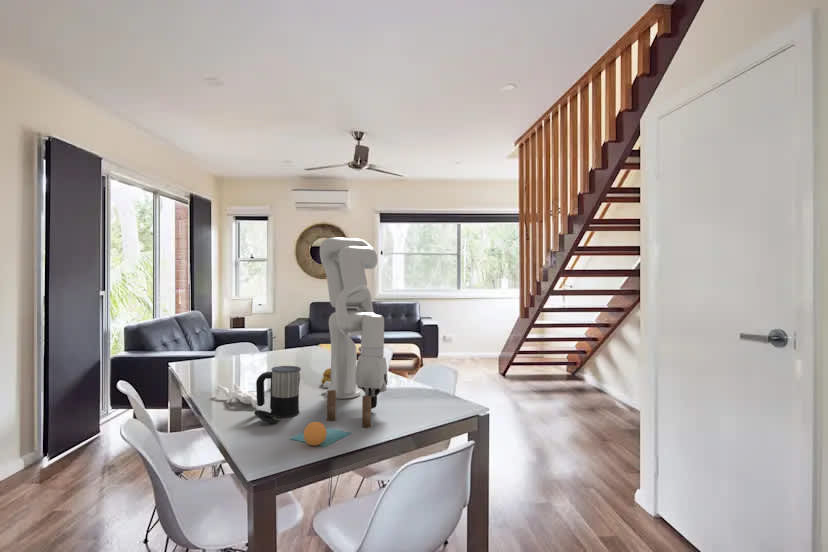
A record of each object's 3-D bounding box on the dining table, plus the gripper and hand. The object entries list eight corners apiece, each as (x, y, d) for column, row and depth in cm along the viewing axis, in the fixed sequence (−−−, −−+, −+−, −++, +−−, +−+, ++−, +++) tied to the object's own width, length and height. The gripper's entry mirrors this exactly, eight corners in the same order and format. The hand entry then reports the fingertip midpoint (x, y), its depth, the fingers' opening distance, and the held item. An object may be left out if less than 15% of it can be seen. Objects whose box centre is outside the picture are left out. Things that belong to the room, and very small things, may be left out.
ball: (295, 433, 120) (307, 416, 125) (304, 449, 122) (315, 432, 127) (314, 435, 117) (326, 417, 122) (322, 451, 120) (333, 433, 125)
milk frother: (298, 408, 155) (299, 364, 155) (303, 423, 140) (304, 374, 140) (254, 412, 150) (254, 366, 150) (254, 427, 136) (254, 377, 136)
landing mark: (289, 438, 126) (289, 438, 126) (318, 426, 137) (318, 425, 137) (324, 446, 121) (324, 446, 121) (351, 433, 132) (351, 432, 132)
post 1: (325, 420, 143) (325, 391, 143) (330, 417, 145) (330, 389, 145) (332, 421, 142) (332, 392, 142) (337, 419, 144) (337, 390, 144)
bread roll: (327, 388, 183) (327, 368, 183) (314, 384, 190) (315, 364, 190) (354, 384, 191) (354, 364, 191) (341, 379, 198) (341, 361, 198)
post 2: (360, 427, 137) (360, 396, 137) (365, 424, 139) (365, 394, 139) (367, 428, 136) (368, 398, 136) (372, 426, 138) (372, 396, 138)
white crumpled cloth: (210, 401, 168) (241, 417, 150) (209, 385, 167) (240, 400, 150) (241, 391, 176) (274, 406, 158) (240, 376, 175) (272, 390, 158)
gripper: (347, 351, 152) (346, 407, 152) (385, 355, 145) (385, 414, 145) (359, 348, 159) (359, 401, 159) (397, 352, 152) (397, 408, 152)
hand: (371, 407), depth 152 cm, fingers closed
